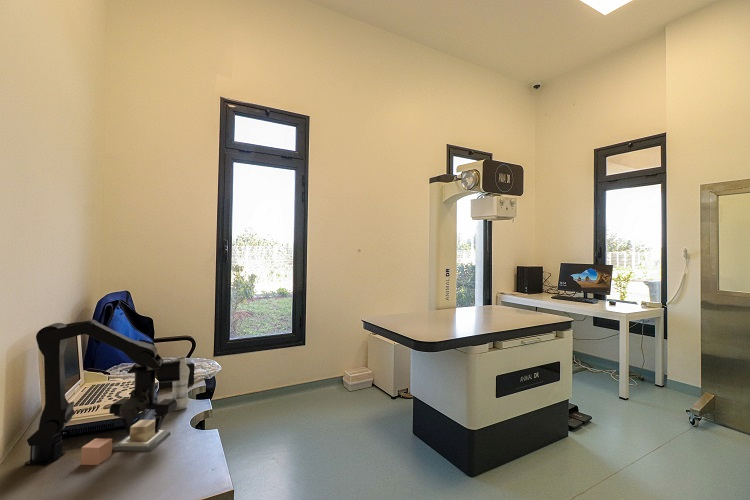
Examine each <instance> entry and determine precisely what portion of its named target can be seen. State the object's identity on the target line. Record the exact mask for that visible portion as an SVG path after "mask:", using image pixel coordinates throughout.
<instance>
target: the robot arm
mask: <svg viewBox="0 0 750 500" xmlns="http://www.w3.org/2000/svg"><path fill="white" fill-rule="evenodd" d="M82 335H87V336H89V337H91V338H93V339H95V340H97V341H99V342H101V343H103V344H105V345H107V346H109V347H112V348H113V349H116V350H117V351H120V352H121V353H123V354H124V355H125V356H126V357H127V358H128V359H129V360H131V362H133V363H134V364H133V365H132V366H131V367H129V369H128V370H127V372H126V374H134V382H133V383H134V384H133V385H134V387H133V388H134V389H132V390H131V391H130V396H129V398H120V399H118V400H117V401H115V402H113V403H112V404H110V406H109V407H108V408H109V409H108V411H109V412H108V413H109V414H111V415H113V416H114V417H117V418H119V419H121V421H122V423H123V425H124V428H125V430H126V432H127V434H130V427H131V426H132V425H133V422H134V418H135V417H136V418H137V416H138V415H139V414H140V413H144V412H145V411H146V410H154V413H155V414H153V417H154V418H155V419H154V420H155V433H158V431H159V430H161V429H160V428H161V427H162V425H163V422H164V421H165V419H166V417H167V416H168V414H170V412H173V411H175V410H174V409H175V408H176V407H177V401H176V400H175V399H171V398H165V399H163V400H161V401H159V402H156V401H157V400H158V397H157V396H155V395H156V390H155V389H156V388H157V385H155V374H156V371H157V380H159V382H160V381H161V383H164V382H173V381H180V379H181V363H180V362H181V360H176V359H175V360H170V361H168V360H167V361H165V360H164V359H163V357H161V355H160V354H159V353H158V348H157V347H156V346H155V345H154V344H151V343H149V342H148V343H147V342H145V341H140V340H135V339H132V338H130V337H128V336H127V335H124V334H122V333H120V332H119V331H116V330H113V329H112V328H110V327H107V326H106V325H104V324H102V323H100V322H98V321H97V320H95V319H94V318H93V319H92V318H89V319H87V320H82V321H75V322H71V323H63V322H54V323H52V324H49V325H47V326H44V327H42V328H40V330H38V331H37V333H36V335H35V340H36V343H37V348H38V350H39V351H40V353H41V355H42V356H43V367H44V368H43V371H44V372H43V376H44V377H43V378H44V407H43V410H42V411H41V412H42V413H41V416H40V418H39V423H38V429H36V430H35V432H34V433H32V434H31V435H30V436H29V437H28V438H27V439H26V442H27V443H28V444H27V445H28V446H29V447H30V450H29V452H30V453H29V460H27V461H25V462H24V466H47V465H49V464H50V463H52V462H53V461H56V459H58V458H60V457H61V456H63V455H64V454H66V451H65V450H63V440H62V439H63V438H62V437H63V435H62V434H60V432H62V431H63V430H64V428H65V427H66V426H67V425H68V424H69V423H70V421H71V420H72V418H73V416H74V415H75V414H76V412H75V411H74V406H75V401H70V402H68V401H69V400H67V398H66V380H65V379H66V377H65V351H66V348H67V345H68V343H69V339H70V338H73V337H78V336H82Z"/></svg>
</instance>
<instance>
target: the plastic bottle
mask: <svg viewBox="0 0 750 500" xmlns="http://www.w3.org/2000/svg"><path fill="white" fill-rule="evenodd" d="M175 360H181V362H180V363H181V379H180V381H173V388H172V391H171V392H172V393H171V398H170V399H175V400H176V401H177V407H176V408H175V409H174V410H173V411H181V410H184V409H186V408H187V407H188V405H189V403H190V401H189V393H188V386H189V385H187V384H188V378H189V372H190V370H189V367H188V366H187V365H186V364H187V357H184V356H183V357H182V356H181V357H177V358H175Z"/></svg>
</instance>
